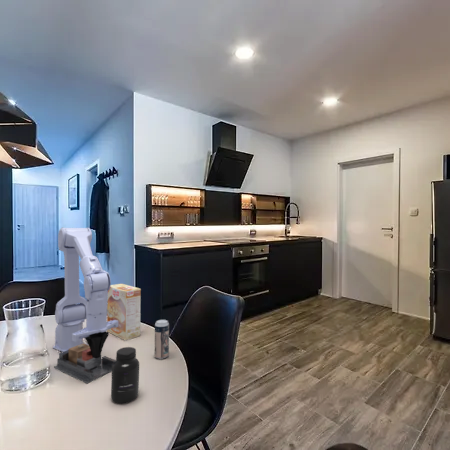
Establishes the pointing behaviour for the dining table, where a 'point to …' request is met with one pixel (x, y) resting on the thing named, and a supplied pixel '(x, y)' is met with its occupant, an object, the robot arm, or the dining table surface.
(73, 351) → the wooden block
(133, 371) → the supplement bottle
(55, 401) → the dining table surface
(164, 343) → the beer can
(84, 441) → the dining table surface
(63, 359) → the grey tray
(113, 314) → the coffeecake box
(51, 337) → the dining table surface
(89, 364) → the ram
